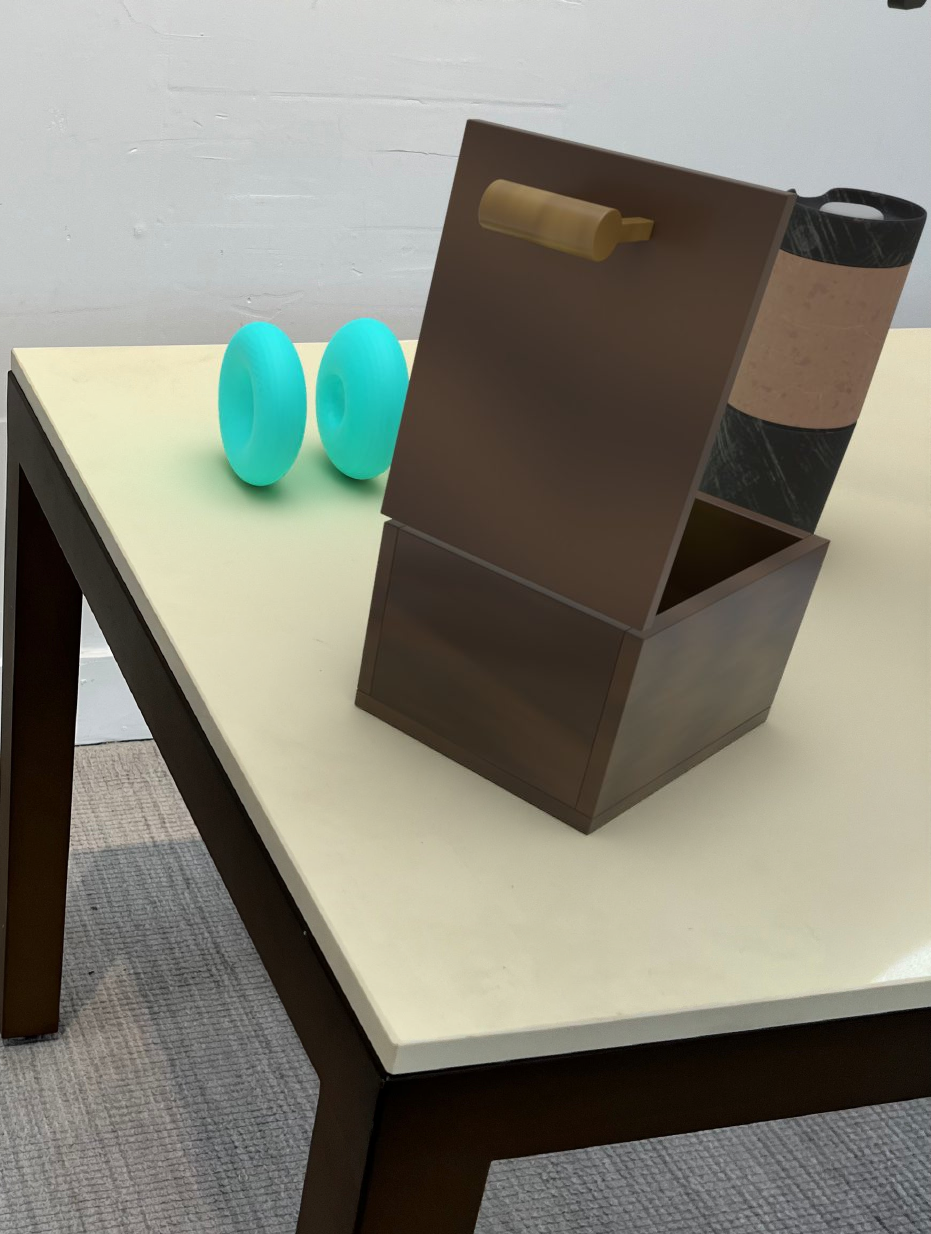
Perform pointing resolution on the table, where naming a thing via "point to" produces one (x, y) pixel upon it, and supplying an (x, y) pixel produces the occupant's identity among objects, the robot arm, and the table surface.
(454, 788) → the table surface
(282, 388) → the donuts
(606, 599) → the lid
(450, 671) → the chest
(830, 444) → the travel mug
